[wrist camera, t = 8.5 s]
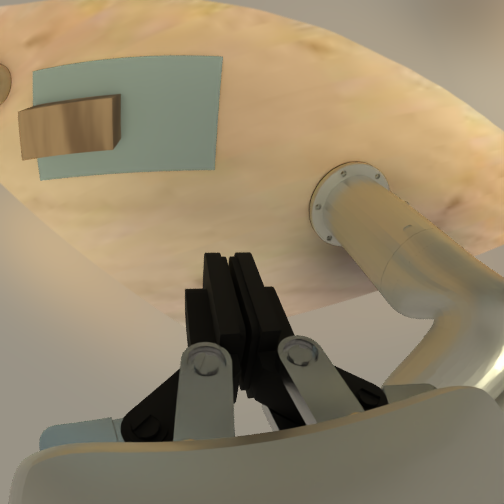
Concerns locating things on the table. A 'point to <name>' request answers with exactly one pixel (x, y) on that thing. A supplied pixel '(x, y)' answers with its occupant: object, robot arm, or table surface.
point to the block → (70, 126)
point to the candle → (4, 83)
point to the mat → (141, 113)
